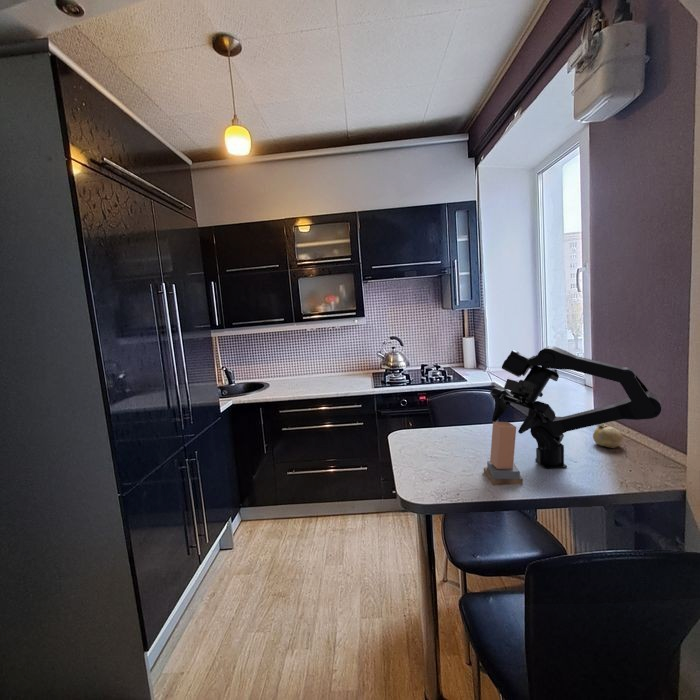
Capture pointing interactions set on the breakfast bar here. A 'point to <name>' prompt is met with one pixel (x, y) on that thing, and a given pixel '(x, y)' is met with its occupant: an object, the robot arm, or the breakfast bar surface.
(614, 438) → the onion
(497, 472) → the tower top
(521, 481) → the tower base
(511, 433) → the pillar
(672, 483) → the breakfast bar surface
